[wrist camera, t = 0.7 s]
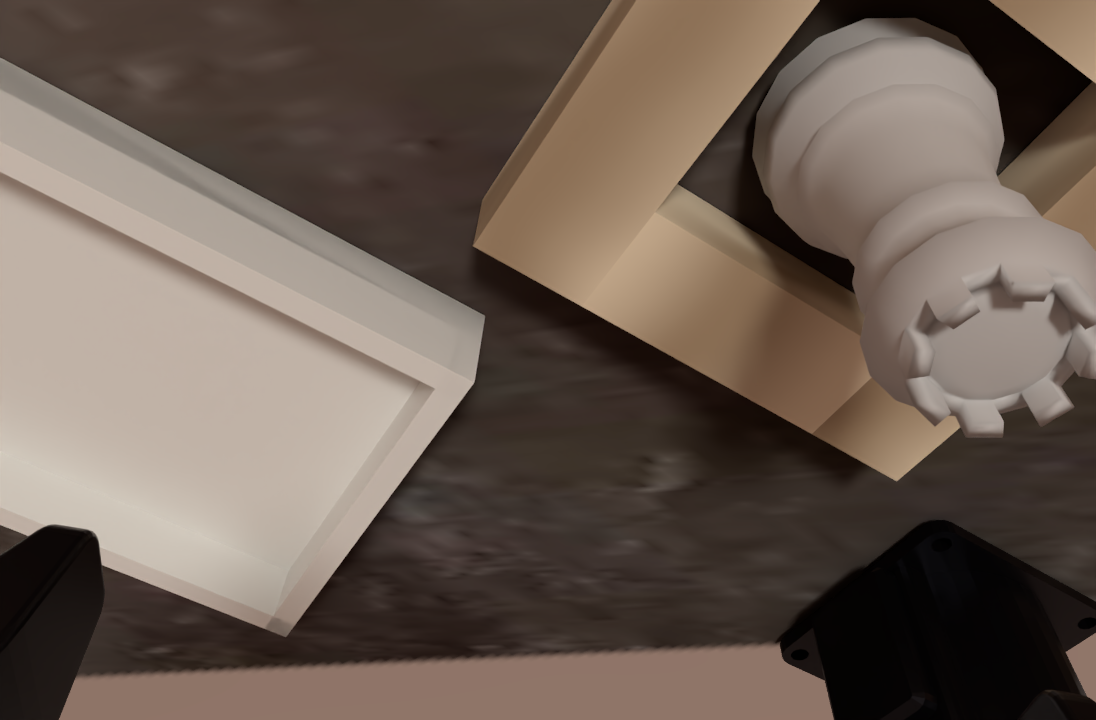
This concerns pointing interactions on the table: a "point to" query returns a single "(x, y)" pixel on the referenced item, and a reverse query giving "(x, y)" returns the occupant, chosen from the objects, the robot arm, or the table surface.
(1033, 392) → the rook chess piece
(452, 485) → the table surface
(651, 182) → the socket block
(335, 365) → the tray
